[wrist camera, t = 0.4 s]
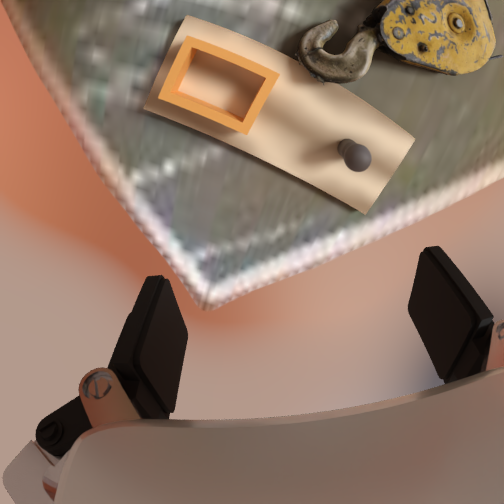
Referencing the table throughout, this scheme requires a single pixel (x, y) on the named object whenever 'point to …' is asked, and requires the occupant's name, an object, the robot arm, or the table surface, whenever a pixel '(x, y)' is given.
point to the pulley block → (406, 39)
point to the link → (207, 109)
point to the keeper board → (287, 116)
